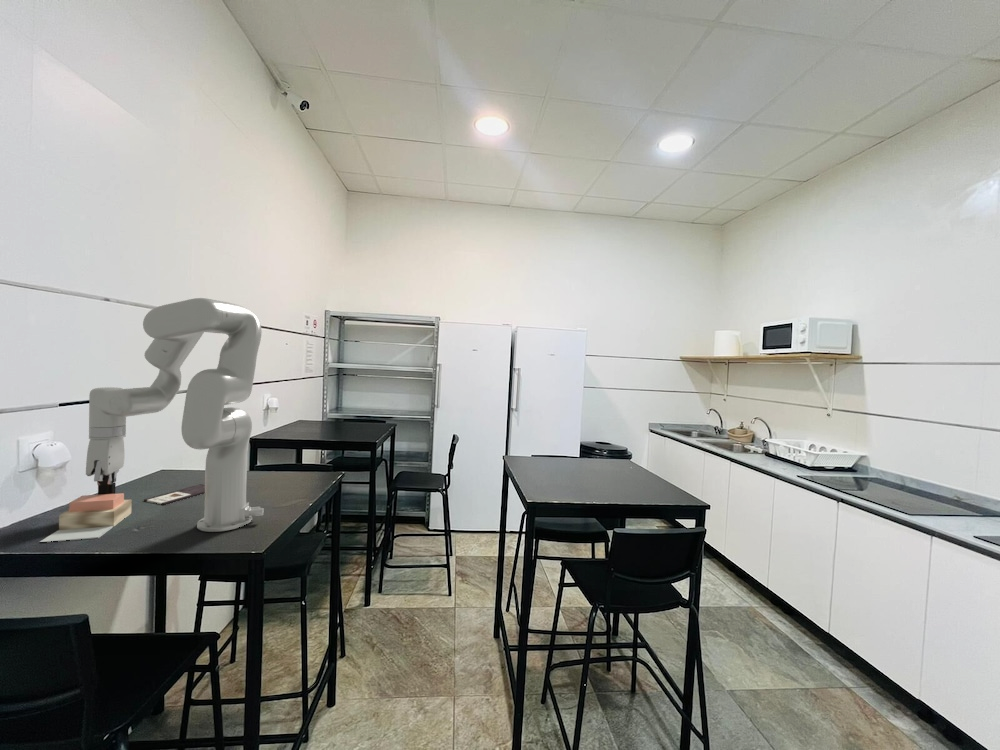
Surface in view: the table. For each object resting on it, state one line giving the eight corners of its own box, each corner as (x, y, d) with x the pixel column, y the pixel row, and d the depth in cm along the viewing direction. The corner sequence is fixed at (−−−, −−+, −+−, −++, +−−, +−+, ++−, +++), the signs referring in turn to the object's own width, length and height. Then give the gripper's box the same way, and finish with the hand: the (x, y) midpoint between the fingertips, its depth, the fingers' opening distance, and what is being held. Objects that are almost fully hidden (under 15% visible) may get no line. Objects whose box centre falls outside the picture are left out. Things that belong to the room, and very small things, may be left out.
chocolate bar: (220, 487, 145) (164, 503, 128) (220, 490, 145) (164, 506, 128) (200, 484, 148) (143, 499, 131) (200, 486, 148) (143, 502, 131)
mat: (112, 527, 111) (112, 526, 111) (98, 538, 104) (98, 536, 104) (57, 531, 107) (57, 530, 107) (39, 543, 100) (39, 541, 100)
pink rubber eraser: (123, 501, 118) (124, 493, 118) (113, 509, 113) (113, 500, 113) (82, 504, 115) (82, 495, 115) (69, 511, 109) (69, 502, 109)
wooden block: (131, 513, 120) (131, 499, 120) (113, 526, 111) (114, 511, 111) (81, 516, 117) (81, 502, 116) (59, 530, 107) (59, 515, 107)
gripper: (104, 428, 123) (103, 490, 124) (74, 437, 109) (73, 508, 110) (136, 427, 126) (135, 489, 127) (111, 436, 112) (110, 505, 113)
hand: (106, 497), depth 118 cm, fingers closed
